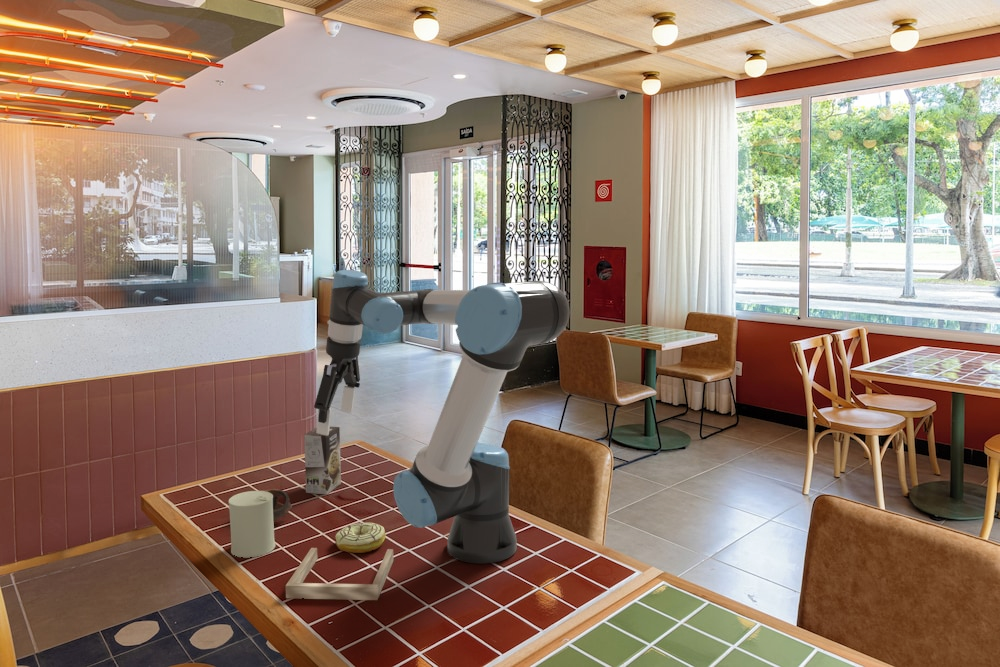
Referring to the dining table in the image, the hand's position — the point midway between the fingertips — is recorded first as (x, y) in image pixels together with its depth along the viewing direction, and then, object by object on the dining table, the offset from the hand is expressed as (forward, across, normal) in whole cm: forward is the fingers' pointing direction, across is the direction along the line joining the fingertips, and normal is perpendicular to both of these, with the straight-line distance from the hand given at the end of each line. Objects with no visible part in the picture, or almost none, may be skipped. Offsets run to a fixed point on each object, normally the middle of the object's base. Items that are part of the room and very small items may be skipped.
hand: (335, 422), depth 166 cm
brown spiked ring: (+27, +6, -12) cm, 30 cm away
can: (+24, +22, -7) cm, 33 cm away
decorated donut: (+20, +15, +15) cm, 29 cm away
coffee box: (+28, -16, -7) cm, 33 cm away
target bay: (+17, +30, +17) cm, 38 cm away
